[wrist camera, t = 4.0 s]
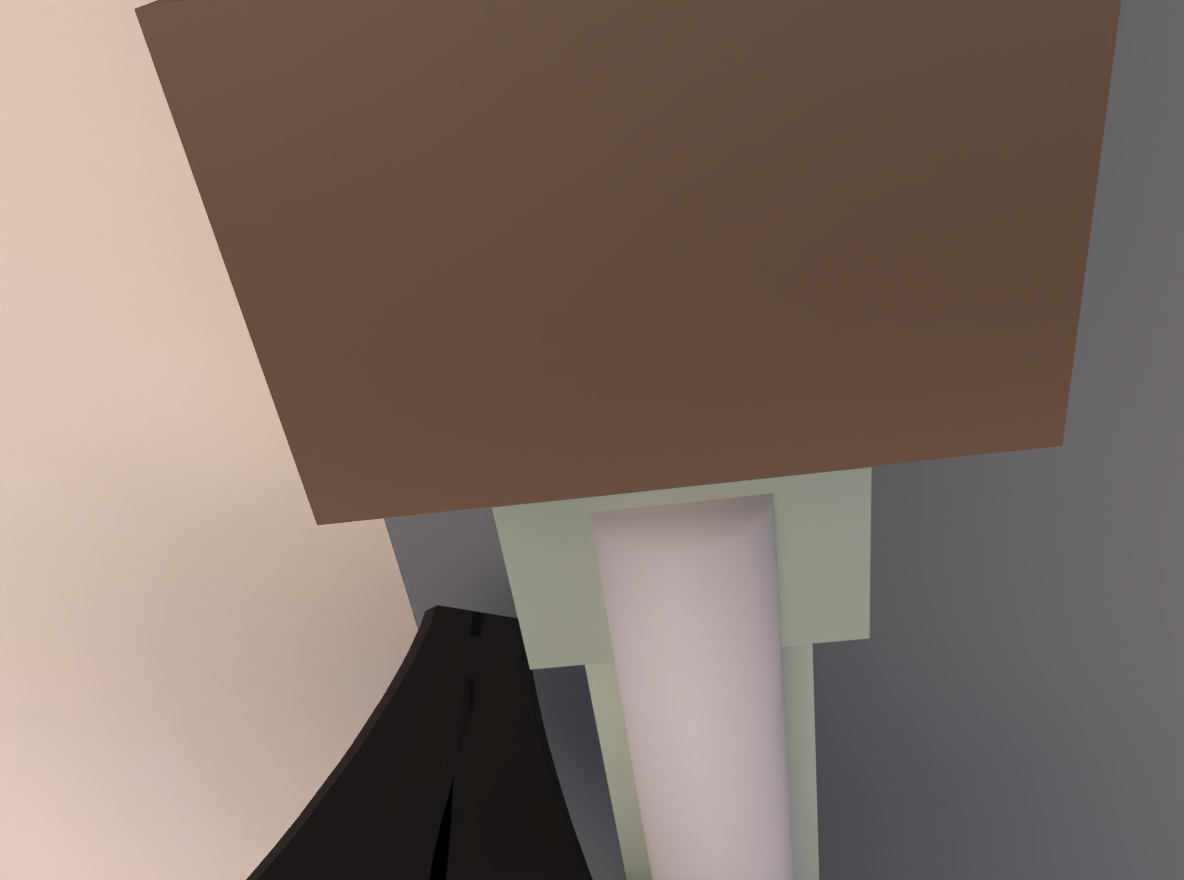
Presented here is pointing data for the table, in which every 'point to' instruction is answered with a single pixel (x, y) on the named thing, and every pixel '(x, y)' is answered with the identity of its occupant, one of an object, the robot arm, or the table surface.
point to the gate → (700, 654)
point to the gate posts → (643, 232)
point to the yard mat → (987, 588)
